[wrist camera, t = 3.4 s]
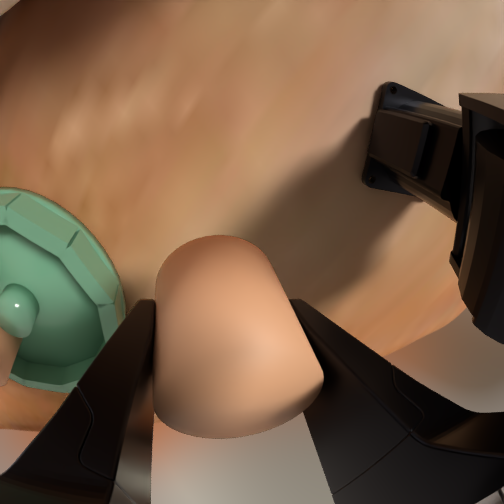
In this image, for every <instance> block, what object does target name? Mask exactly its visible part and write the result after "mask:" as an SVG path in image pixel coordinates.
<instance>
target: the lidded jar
mask: <svg viewBox="0 0 504 504" xmlns="http://www.w3.org/2000/svg"><path fill="white" fill-rule="evenodd" d="M19 1H20V0H0V16H1V15H3V14H4V13H5V12H7V11H8V10H9V9H11V8H12V7H13V6H14V5H15V4H16V3H18V2H19Z"/></svg>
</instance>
